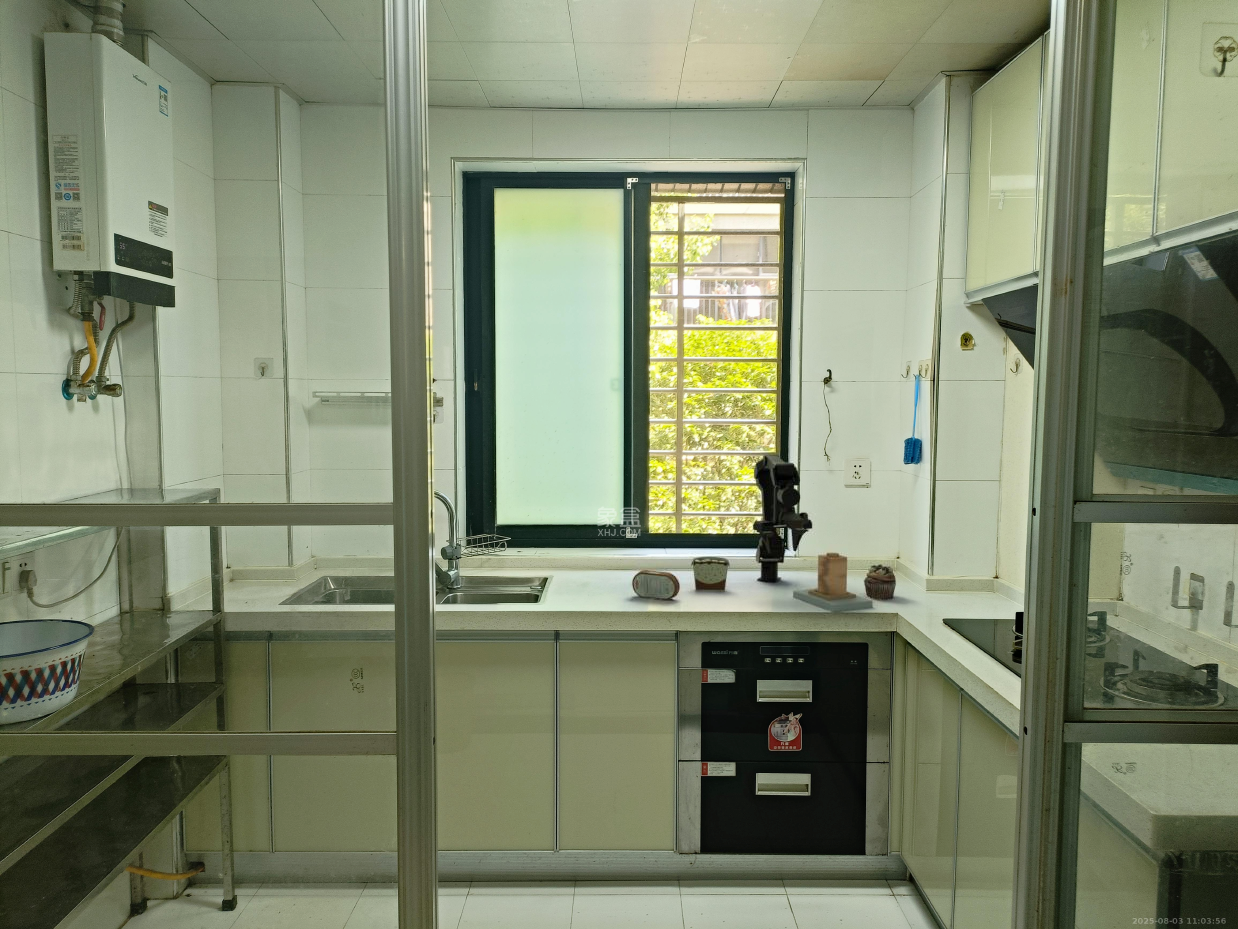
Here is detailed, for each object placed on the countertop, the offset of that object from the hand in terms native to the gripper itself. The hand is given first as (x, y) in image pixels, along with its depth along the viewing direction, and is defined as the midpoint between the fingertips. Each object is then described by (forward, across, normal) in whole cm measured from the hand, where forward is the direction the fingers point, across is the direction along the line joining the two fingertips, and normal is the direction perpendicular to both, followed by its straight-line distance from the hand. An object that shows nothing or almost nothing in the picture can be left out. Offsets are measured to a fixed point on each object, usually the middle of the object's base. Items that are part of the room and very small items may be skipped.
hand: (782, 552), depth 261 cm
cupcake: (+13, +25, -16) cm, 33 cm away
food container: (+13, -18, +14) cm, 26 cm away
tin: (+13, -40, +8) cm, 43 cm away
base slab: (+13, +7, -16) cm, 22 cm away
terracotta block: (+11, +7, -16) cm, 21 cm away
